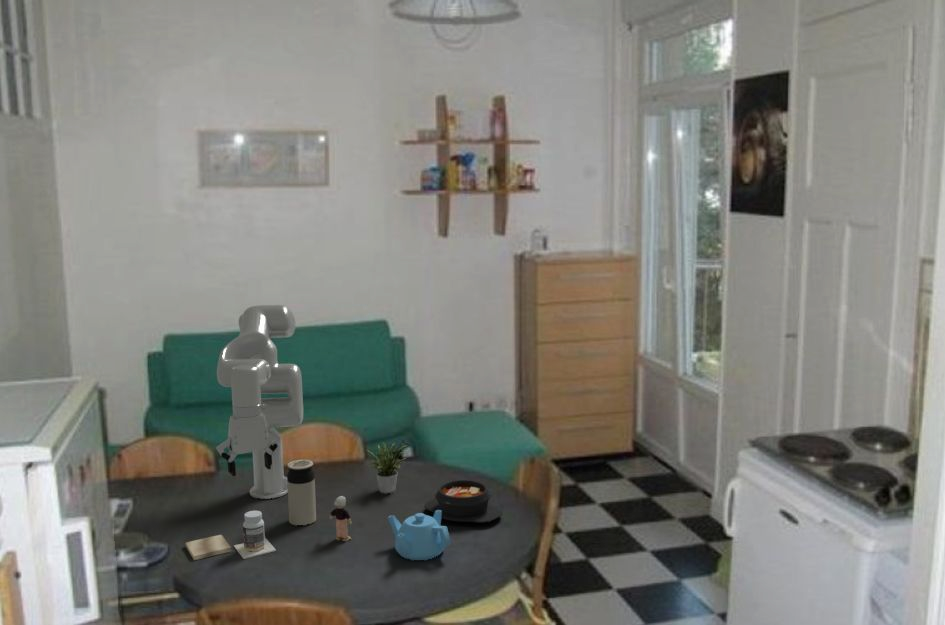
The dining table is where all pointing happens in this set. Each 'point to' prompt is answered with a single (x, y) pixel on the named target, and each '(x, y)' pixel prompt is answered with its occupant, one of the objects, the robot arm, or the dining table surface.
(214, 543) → the coaster
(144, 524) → the dining table surface
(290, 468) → the travel mug
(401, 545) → the teapot
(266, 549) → the tile
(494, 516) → the casserole
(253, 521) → the pill bottle
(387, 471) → the house plant
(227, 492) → the dining table surface
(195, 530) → the dining table surface
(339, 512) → the grandmother figurine
